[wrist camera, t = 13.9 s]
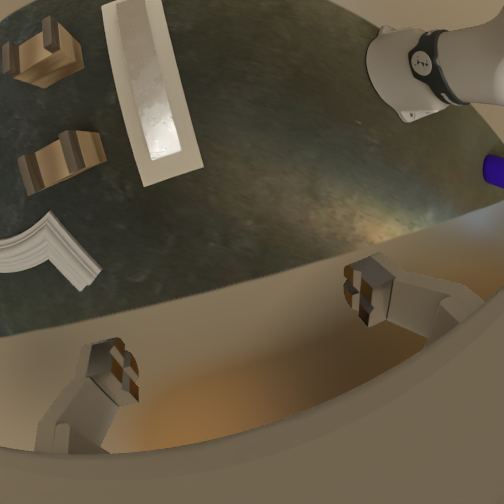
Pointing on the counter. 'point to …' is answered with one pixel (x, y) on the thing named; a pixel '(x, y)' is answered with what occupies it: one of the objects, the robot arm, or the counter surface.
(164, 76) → the plank
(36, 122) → the counter surface
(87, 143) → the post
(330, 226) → the counter surface
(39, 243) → the molding
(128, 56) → the rail
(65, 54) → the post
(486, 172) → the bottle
